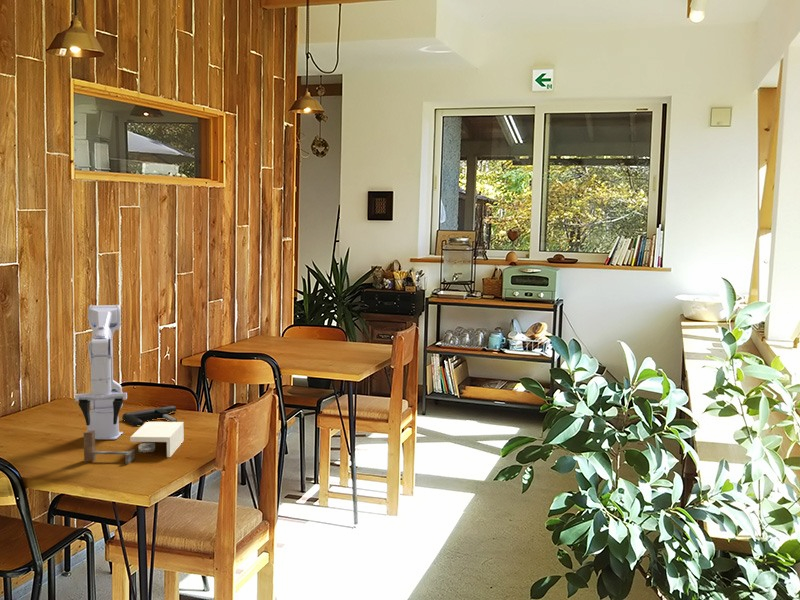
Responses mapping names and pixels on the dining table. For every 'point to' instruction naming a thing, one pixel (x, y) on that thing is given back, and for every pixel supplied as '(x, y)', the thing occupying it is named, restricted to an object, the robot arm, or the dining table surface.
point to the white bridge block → (161, 434)
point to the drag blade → (90, 451)
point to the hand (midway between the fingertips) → (101, 424)
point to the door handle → (149, 415)
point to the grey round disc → (146, 447)
